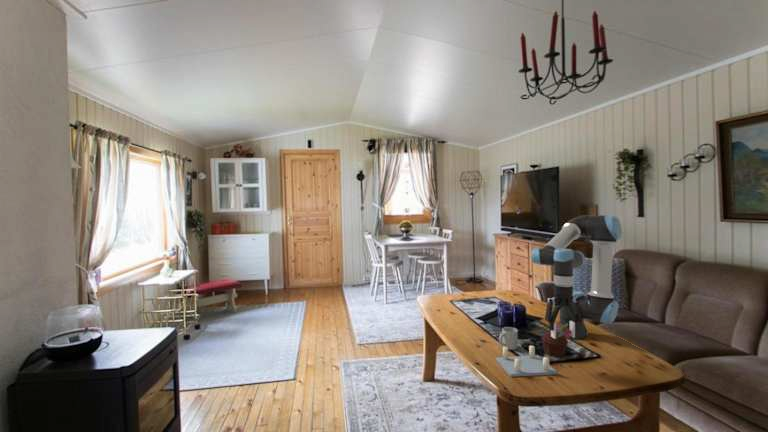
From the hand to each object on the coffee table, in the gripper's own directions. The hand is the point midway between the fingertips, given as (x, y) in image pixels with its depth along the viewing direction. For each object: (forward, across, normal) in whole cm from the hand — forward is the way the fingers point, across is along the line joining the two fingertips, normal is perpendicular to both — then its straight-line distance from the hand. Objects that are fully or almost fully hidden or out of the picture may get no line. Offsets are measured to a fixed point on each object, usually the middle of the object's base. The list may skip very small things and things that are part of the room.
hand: (562, 336), depth 157 cm
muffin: (+14, -5, -14) cm, 20 cm away
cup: (+14, +14, -24) cm, 31 cm away
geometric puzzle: (+1, 0, 0) cm, 1 cm away
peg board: (+14, +16, -3) cm, 21 cm away
